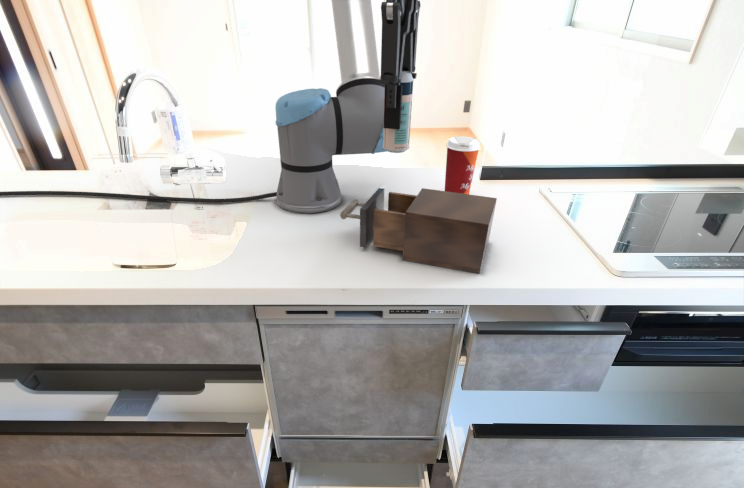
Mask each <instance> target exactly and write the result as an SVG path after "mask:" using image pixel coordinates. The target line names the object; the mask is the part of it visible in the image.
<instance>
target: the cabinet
mask: <svg viewBox="0 0 744 488" xmlns="http://www.w3.org/2000/svg"><path fill="white" fill-rule="evenodd" d="M497 200H498V198H497V197H490V196H483V195H475V194H470V193H469V194H462V193H454V192H447V191H445V190H437V189H431V188H423V187H422V188H421V189H420V191H419V192H418V194H417V197H416V198H415V199H414V201H413V202H412V204H411V205H410V207H409V208H408V210H407V211H406V215H405V230H404V245H403V251H402V261H405V262H412V263H417V264H422V265H428V266H434V267H438V268H439V267H440V268H444V269H445V268H446V269H449V270H457V271H462V272H468V273H474V274H481V270H482V266H483V263H484V259H485V256H486V253H487V249H488V245H489V241H490V235H491V231H492V227H493V220H494V215H495V209H496V204H497Z"/></svg>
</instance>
